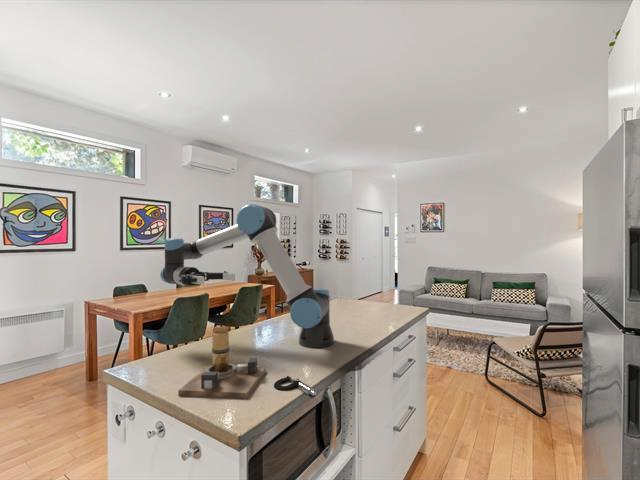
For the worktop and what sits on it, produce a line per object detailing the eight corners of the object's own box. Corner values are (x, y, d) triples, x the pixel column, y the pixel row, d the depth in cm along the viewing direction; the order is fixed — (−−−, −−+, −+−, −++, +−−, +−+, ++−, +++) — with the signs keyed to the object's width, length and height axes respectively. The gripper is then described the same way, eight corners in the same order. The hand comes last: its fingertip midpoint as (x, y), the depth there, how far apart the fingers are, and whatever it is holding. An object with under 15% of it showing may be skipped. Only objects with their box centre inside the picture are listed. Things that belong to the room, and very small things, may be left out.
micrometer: (269, 385, 99) (269, 377, 99) (289, 379, 103) (289, 371, 103) (296, 404, 87) (296, 395, 87) (317, 396, 91) (317, 387, 91)
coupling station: (265, 371, 109) (265, 355, 109) (246, 398, 90) (246, 379, 90) (208, 369, 111) (208, 354, 111) (178, 395, 93) (178, 376, 93)
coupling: (231, 369, 107) (231, 325, 107) (225, 376, 102) (225, 329, 102) (216, 369, 108) (216, 325, 108) (209, 375, 102) (208, 329, 103)
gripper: (213, 282, 144) (245, 285, 132) (157, 288, 124) (188, 293, 111) (213, 265, 144) (245, 266, 132) (157, 269, 124) (188, 271, 112)
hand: (219, 278), depth 122 cm, fingers open, 13 cm apart
